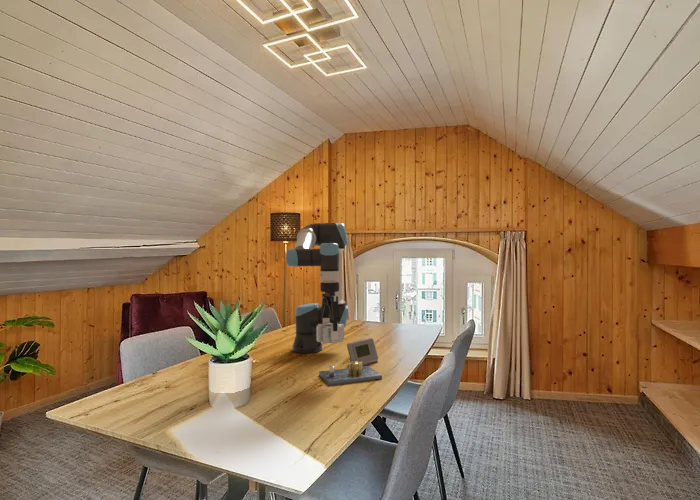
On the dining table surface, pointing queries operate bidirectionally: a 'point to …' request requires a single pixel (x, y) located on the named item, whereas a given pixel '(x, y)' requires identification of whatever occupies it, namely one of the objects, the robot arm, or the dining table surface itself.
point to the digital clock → (363, 351)
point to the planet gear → (329, 333)
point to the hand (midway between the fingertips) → (330, 336)
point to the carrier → (349, 374)
